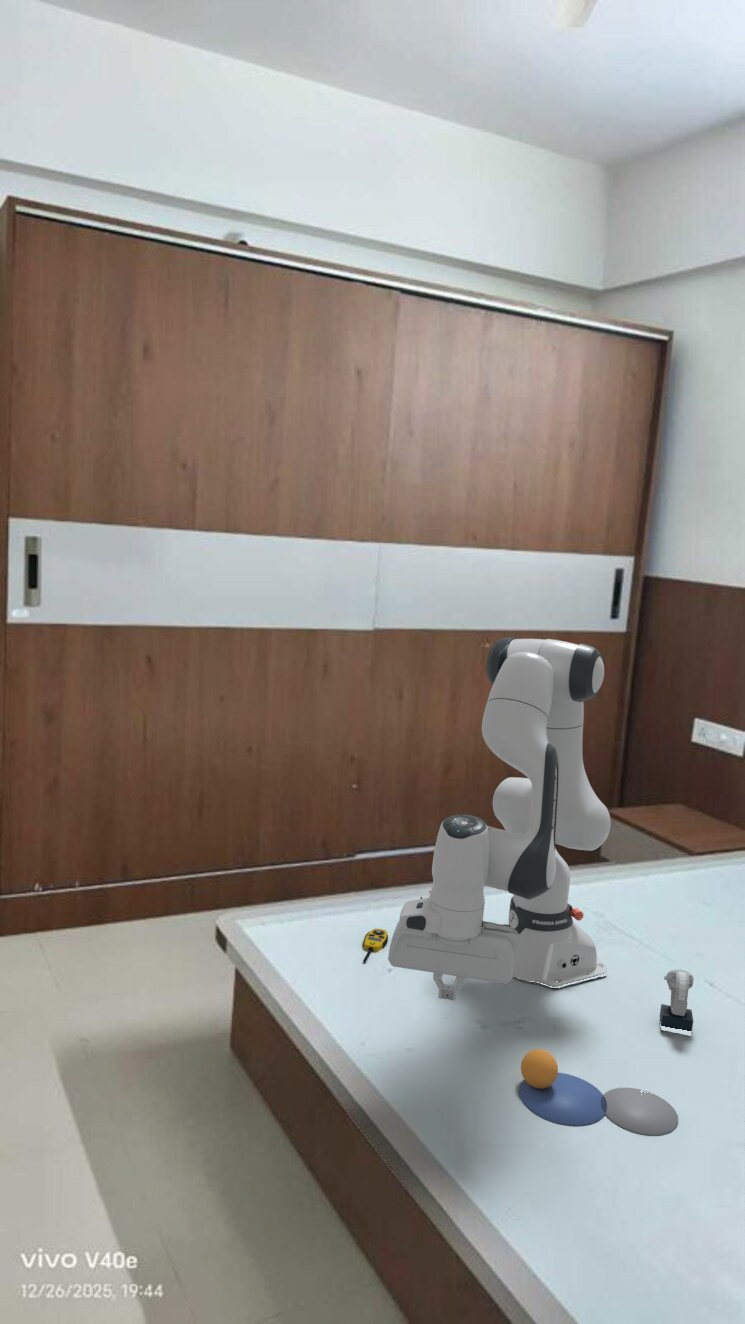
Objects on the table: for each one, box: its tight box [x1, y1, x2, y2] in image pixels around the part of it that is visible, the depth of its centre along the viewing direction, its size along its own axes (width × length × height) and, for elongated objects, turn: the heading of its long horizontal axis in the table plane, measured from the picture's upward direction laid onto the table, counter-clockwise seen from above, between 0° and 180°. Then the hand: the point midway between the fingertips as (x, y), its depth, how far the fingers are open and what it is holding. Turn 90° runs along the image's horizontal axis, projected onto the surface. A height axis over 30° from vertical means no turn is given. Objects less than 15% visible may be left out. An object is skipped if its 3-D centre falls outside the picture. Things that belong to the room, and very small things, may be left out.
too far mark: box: [601, 1087, 679, 1136], centre depth 155 cm, size 12×12×1 cm
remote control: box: [362, 928, 389, 963], centre depth 204 cm, size 5×2×15 cm
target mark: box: [518, 1072, 607, 1127], centre depth 156 cm, size 14×14×1 cm
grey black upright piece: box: [659, 969, 695, 1031], centre depth 181 cm, size 6×8×11 cm
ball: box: [520, 1048, 559, 1089], centre depth 159 cm, size 6×6×6 cm
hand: (447, 997), depth 157 cm, fingers closed
